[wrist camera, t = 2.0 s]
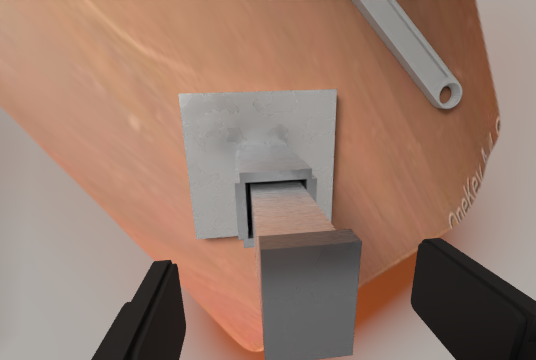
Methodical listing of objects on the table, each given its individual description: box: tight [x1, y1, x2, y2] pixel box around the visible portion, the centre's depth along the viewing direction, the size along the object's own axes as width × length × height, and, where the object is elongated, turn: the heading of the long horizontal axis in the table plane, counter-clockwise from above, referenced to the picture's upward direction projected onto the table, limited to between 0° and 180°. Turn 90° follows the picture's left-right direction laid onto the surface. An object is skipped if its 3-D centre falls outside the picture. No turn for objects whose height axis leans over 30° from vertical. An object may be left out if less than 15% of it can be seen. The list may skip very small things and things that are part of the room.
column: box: [248, 180, 362, 360], centre depth 17 cm, size 4×3×18 cm
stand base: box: [178, 89, 337, 248], centre depth 21 cm, size 14×14×12 cm
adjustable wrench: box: [351, 0, 463, 109], centre depth 23 cm, size 25×6×2 cm, turn 43°
